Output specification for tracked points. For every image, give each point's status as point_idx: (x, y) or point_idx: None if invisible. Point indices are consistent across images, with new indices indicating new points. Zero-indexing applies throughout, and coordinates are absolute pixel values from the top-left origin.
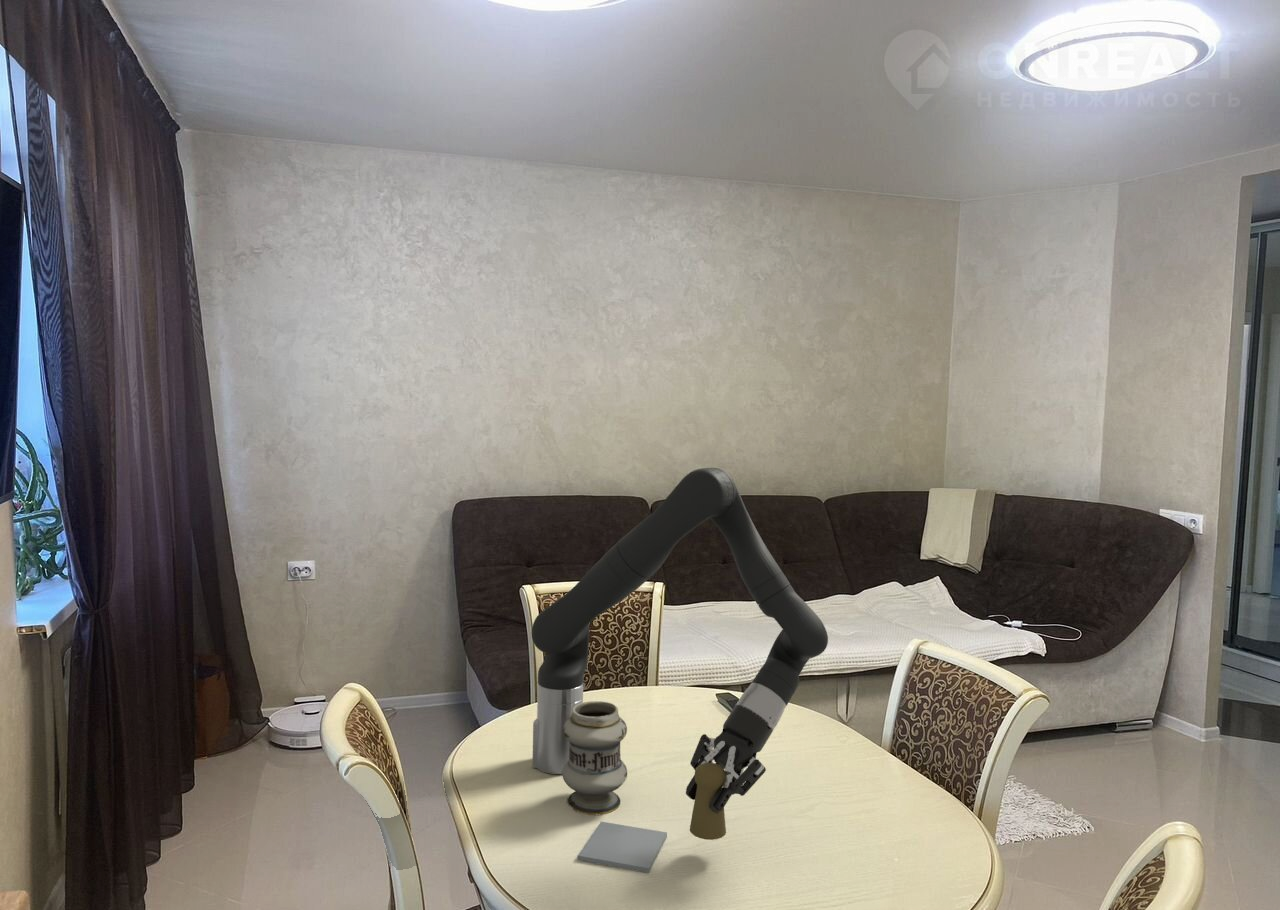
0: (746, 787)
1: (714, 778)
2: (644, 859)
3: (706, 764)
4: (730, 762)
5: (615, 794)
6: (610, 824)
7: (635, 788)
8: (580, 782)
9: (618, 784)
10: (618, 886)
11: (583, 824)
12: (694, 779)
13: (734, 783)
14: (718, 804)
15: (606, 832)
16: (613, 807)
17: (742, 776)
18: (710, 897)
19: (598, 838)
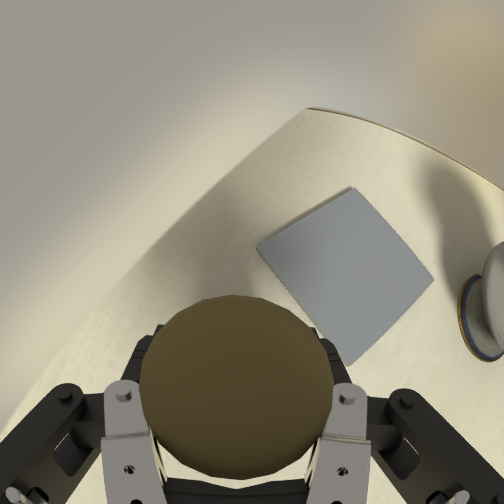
0: (65, 448)
1: (153, 340)
2: (288, 258)
3: (276, 383)
4: (127, 488)
5: (491, 355)
6: (421, 286)
7: (494, 406)
8: (498, 245)
9: (490, 317)
10: (255, 191)
11: (441, 262)
12: None
13: (73, 400)
14: (139, 342)
15: (401, 263)
16: (465, 330)
17: (35, 431)
18: (125, 282)
19: (388, 240)
